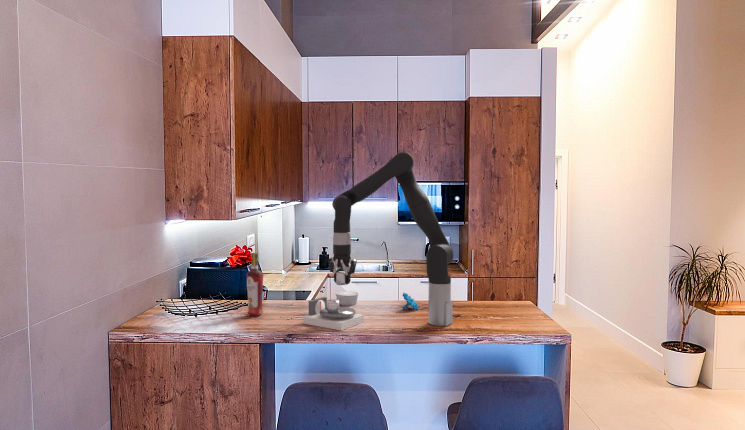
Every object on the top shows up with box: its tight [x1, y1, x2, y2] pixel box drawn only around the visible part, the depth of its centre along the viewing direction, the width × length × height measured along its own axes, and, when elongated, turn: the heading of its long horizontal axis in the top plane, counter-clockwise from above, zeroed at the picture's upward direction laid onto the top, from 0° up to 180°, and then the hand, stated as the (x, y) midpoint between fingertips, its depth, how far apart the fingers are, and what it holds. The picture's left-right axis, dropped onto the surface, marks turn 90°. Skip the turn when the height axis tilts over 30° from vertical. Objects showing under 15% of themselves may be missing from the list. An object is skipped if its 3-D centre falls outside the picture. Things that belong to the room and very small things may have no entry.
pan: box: [320, 306, 356, 318], centre depth 217 cm, size 15×15×1 cm
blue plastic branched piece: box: [402, 292, 419, 311], centre depth 244 cm, size 11×6×10 cm
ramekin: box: [335, 290, 359, 306], centre depth 255 cm, size 11×11×5 cm
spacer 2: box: [335, 270, 348, 286], centre depth 219 cm, size 5×5×5 cm
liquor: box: [245, 252, 264, 318], centre depth 231 cm, size 7×7×28 cm
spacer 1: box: [327, 298, 340, 314], centre depth 215 cm, size 5×5×5 cm
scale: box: [302, 296, 365, 331], centre depth 218 cm, size 20×16×9 cm
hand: (342, 282), depth 220 cm, fingers closed on spacer 2, 5 cm apart
